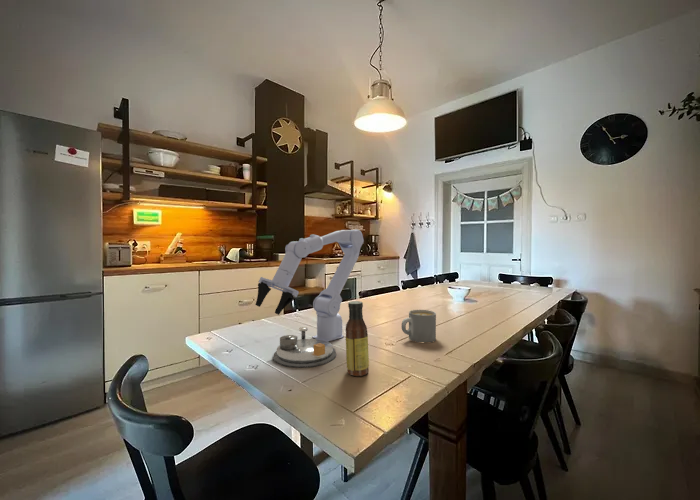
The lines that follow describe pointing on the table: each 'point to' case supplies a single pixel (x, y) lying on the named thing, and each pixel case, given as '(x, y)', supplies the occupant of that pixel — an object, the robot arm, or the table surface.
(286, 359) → the turntable
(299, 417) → the table surface
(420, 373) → the table surface
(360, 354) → the sauce bottle
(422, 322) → the coffee mug
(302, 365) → the turntable base
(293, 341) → the cover
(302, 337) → the small grey dumbbell
